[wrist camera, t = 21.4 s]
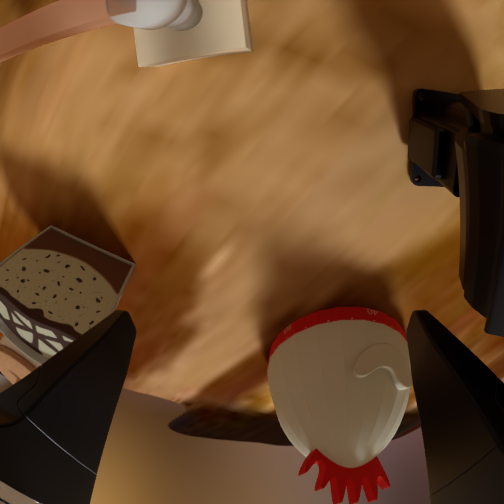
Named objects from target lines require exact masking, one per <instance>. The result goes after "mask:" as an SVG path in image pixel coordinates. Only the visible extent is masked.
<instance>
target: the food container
mask: <svg viewBox="0 0 504 504" xmlns="http://www.w3.org/2000/svg"><path fill="white" fill-rule="evenodd" d="M135 266H136V264H135V263H133V262H130V261H128V260H126V259H123V258H121V257H119V256H117V255H114V254H112V253H110V252H108V251H106V250H103V249H101V248H99V247H97V246H95V245H92V244H90V243H88V242H86V241H84V240H82V239H80V238H77V237H75V236H73V235H71V234H69V233H67V232H65V231H63V230H61V229H59V228H56V227H54V226H52V225H50V226H49V227H47V228H46V229H45V230H43V231H42V232H40V233H39V234H38V235H36V236H35V237H33V238H32V239H31V240H29V241H28V242H27V243H25V244H24V245H23V246H21V247H20V248H19V249H17V250H16V251H15V252H13V253H12V254H11V255H10V256H8V257H7V258H6V259H4V260H3V261H2V262H1V263H0V331H1V332H2V333H3V335H4V336H5V337H6V338H7V339H8V340H9V341H10V342H11V343H12V344H13V345H14V346H16V347H17V348H18V349H19V350H20V351H21V352H23V353H24V354H25V355H27V356H28V357H29V358H31V359H32V360H34V361H35V362H37V363H39V364H41V365H42V364H43V363H44V362H46V361H47V360H48V359H50V358H51V357H52V356H54V355H55V354H56V353H58V352H59V351H60V350H62V349H63V348H64V347H66V346H67V345H69V344H70V343H71V342H73V341H74V340H75V339H77V338H78V337H79V336H81V335H82V334H84V333H85V332H86V331H88V330H89V329H91V328H92V327H93V326H95V325H96V324H97V323H99V322H100V321H102V320H103V319H104V318H106V317H107V316H109V315H110V314H111V313H113V312H114V311H115V310H116V308H117V306H118V304H119V301H120V299H121V297H122V295H123V293H124V291H125V289H126V286H127V284H128V282H129V280H130V278H131V276H132V274H133V272H134V269H135Z"/></svg>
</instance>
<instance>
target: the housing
mask: <svg viewBox="0 0 504 504" xmlns="http://www.w3.org/2000/svg"><path fill="white" fill-rule="evenodd" d="M134 35H135V44H136V52H137V60H138V67H160V66H165V65H169V64H174V63H179V62H184V61H189V60H194V59H200V58H206V57H212V56H219V55H226V54H233V53H242V52H251V51H252V42H251V33H250V24H249V16H248V7H247V0H187V4H186V6H185V9H184V10H183V12H182V13H181V15H180V16H179V17H178V18H177V19H176V20H175V21H174V22H172V23H171V24H169V25H167V26H165V27H163V28H160V29H156V30H145V29H140V28H135V27H134Z"/></svg>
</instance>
